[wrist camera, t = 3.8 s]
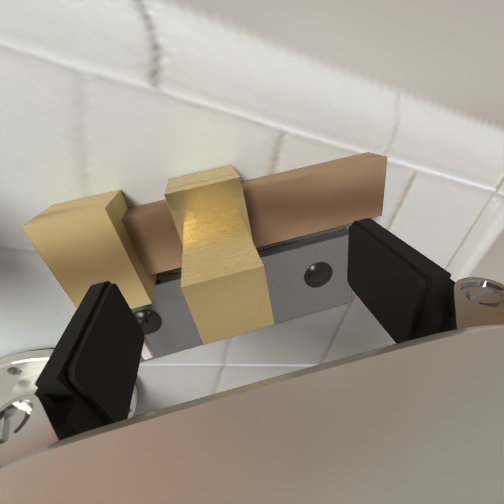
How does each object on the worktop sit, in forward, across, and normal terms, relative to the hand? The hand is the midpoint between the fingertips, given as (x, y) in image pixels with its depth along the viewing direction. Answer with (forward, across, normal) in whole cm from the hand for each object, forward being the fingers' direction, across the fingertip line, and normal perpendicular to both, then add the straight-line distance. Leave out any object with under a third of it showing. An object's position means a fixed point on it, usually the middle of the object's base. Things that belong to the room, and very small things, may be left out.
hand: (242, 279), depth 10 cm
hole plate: (+8, +1, +8) cm, 11 cm away
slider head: (+8, +1, +3) cm, 9 cm away
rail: (+8, 0, +3) cm, 9 cm away
